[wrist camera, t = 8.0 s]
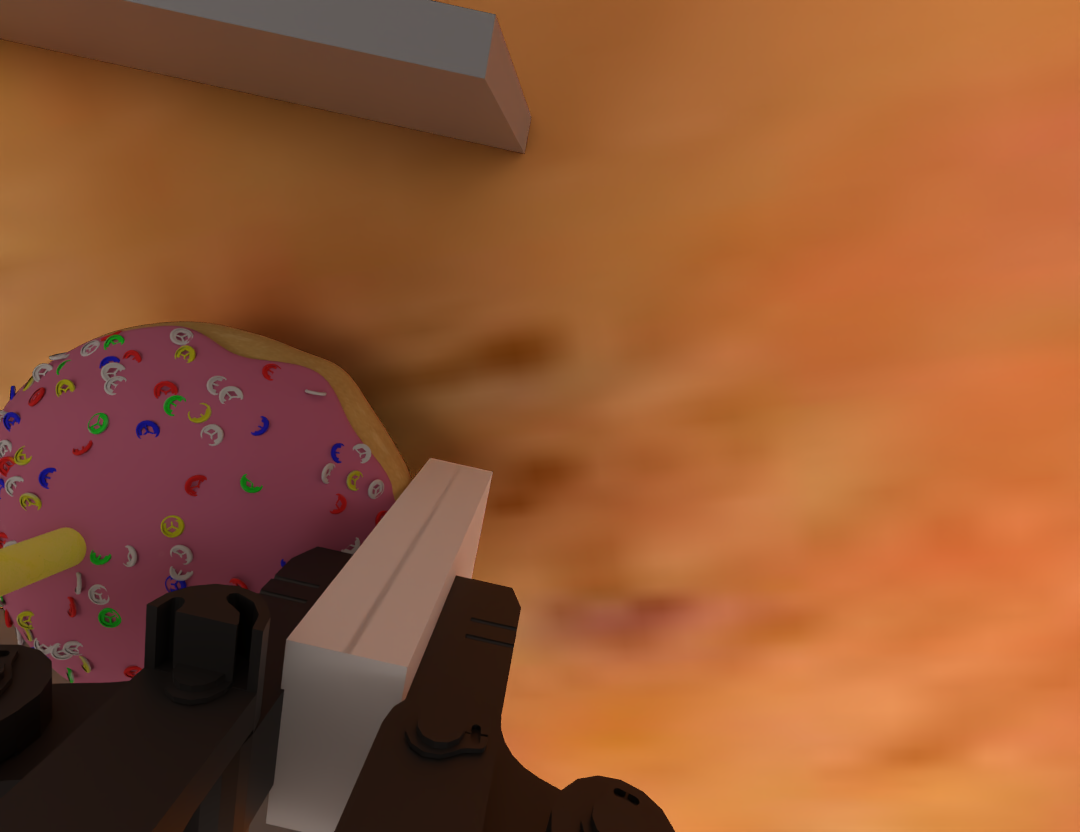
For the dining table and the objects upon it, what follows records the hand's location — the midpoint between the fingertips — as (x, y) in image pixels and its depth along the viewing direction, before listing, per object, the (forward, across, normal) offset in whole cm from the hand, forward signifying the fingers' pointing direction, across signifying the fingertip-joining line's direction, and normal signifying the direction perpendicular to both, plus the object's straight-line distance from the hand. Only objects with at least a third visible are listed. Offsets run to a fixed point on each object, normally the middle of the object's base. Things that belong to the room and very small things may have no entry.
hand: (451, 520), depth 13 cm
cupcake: (+3, -5, -1) cm, 6 cm away
